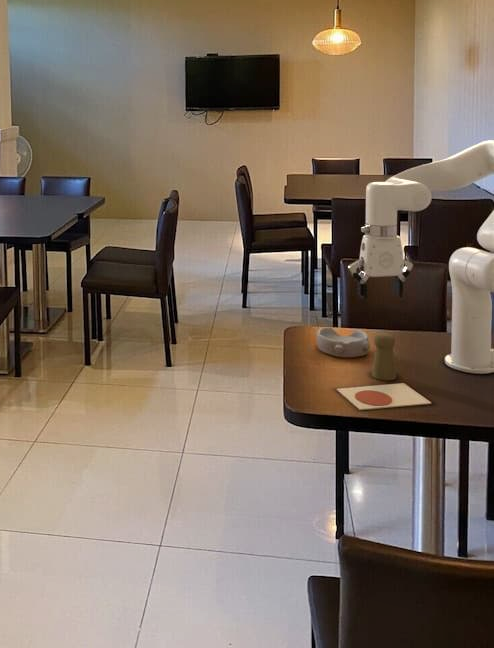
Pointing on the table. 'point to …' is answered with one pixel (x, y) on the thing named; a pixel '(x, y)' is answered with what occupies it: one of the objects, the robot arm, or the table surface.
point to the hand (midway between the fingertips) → (380, 296)
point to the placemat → (383, 396)
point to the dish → (342, 343)
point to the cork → (384, 357)
